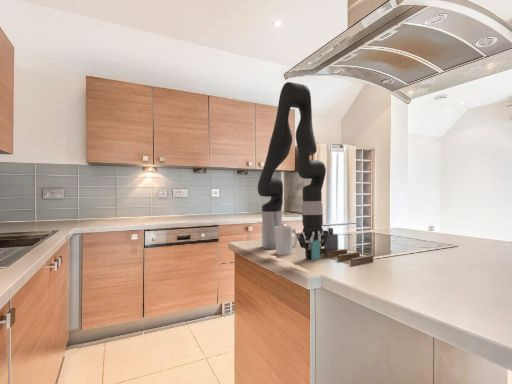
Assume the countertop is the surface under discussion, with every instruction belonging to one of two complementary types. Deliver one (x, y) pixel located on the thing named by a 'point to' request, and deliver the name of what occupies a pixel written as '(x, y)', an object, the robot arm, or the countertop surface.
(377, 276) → the countertop surface
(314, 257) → the teal plug
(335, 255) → the wooden slotted rack
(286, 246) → the mug
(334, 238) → the charcoal plug
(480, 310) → the countertop surface
